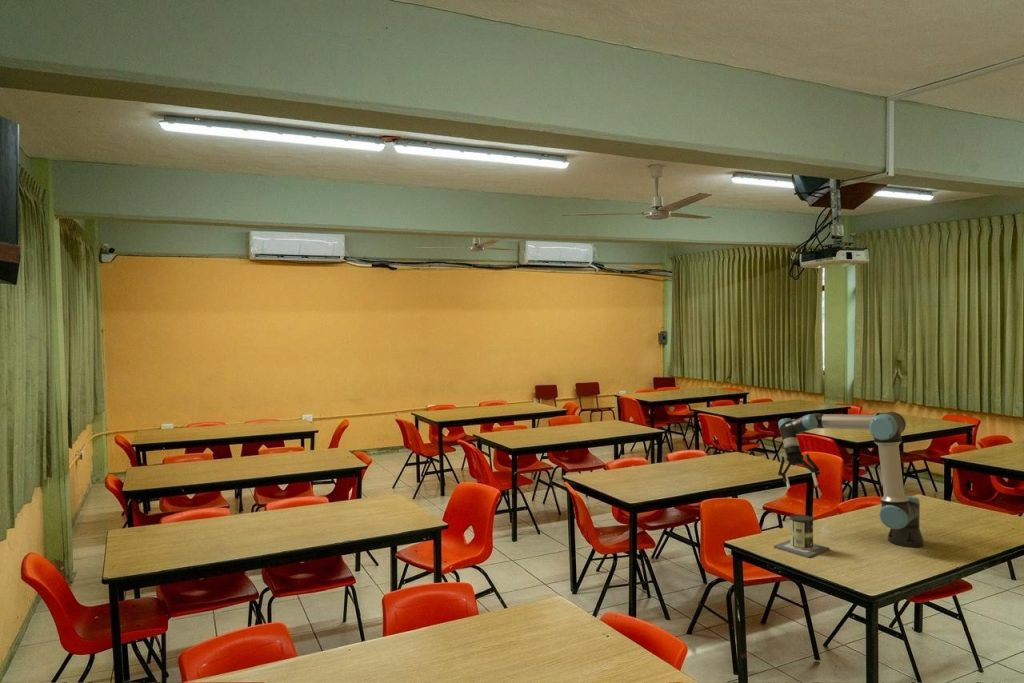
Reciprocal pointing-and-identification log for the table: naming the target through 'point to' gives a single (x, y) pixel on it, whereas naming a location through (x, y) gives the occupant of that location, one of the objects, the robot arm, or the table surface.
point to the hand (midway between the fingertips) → (802, 486)
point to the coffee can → (801, 532)
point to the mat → (805, 553)
